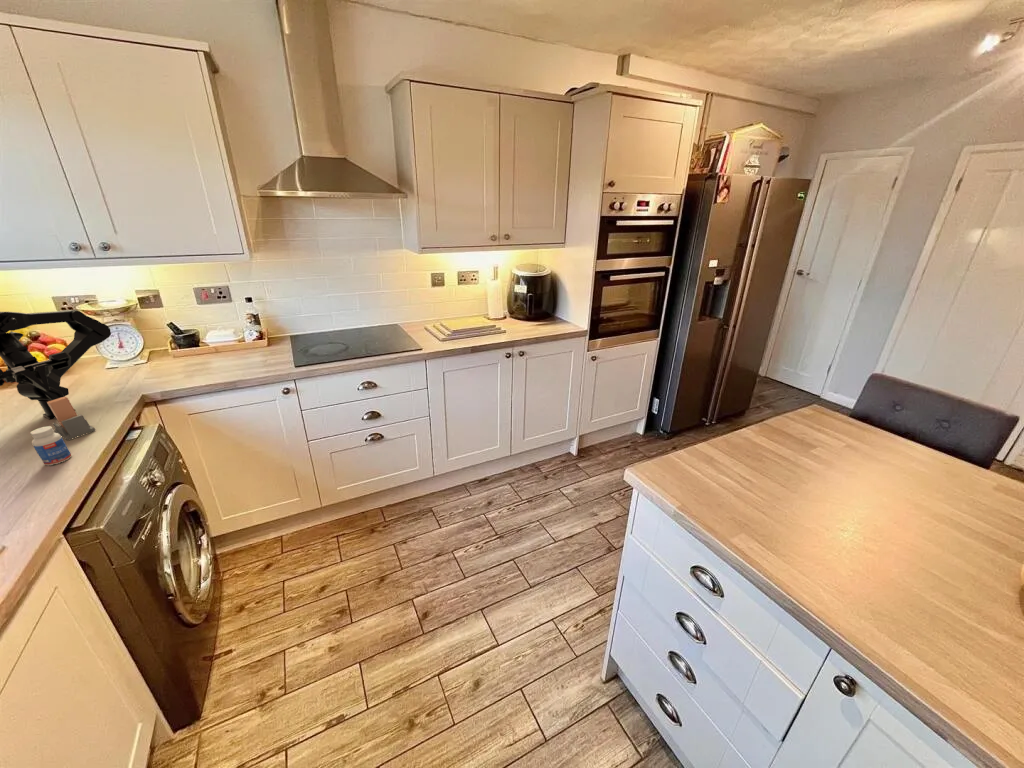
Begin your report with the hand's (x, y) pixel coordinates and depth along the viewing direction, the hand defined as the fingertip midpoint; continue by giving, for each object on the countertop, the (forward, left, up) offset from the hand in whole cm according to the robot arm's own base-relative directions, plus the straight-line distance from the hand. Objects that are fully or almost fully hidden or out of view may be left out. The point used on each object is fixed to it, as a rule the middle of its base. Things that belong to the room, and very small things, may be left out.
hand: (48, 390), depth 125 cm
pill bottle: (+23, -9, -13) cm, 28 cm away
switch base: (+7, 0, -13) cm, 14 cm away
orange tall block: (+7, 0, -11) cm, 13 cm away
